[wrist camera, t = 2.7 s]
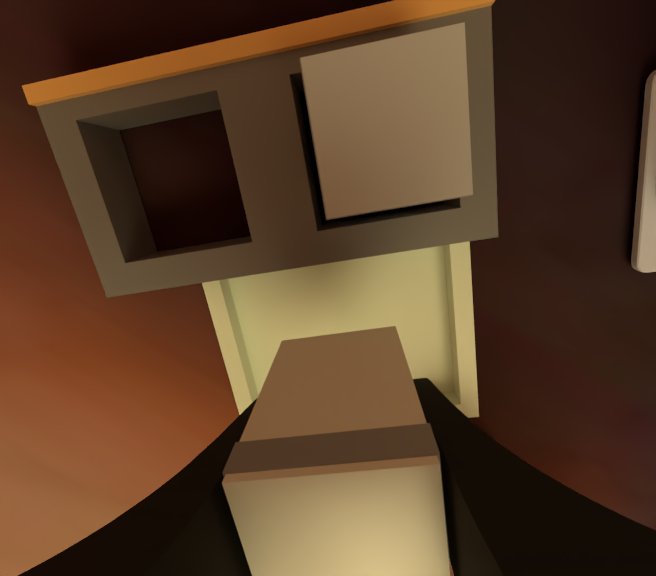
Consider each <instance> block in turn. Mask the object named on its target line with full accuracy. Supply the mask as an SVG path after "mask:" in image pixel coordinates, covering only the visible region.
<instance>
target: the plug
mask: <svg viewBox="0 0 656 576" xmlns="http://www.w3.org/2000/svg"><path fill="white" fill-rule="evenodd" d="M222 473H223V476H224V479H223V482H222V485H223V488H224V491H225V494H226V497H227V500H228V503H229V507H230V510H231V513H232V516H233V519H234V522H235V525H236V528H237V531H238V534H239V537H240V540H241V543H242V546H243V549H244V553H245V556H246V559H247V562H248V565H249V568H250V571H251V574H252V576H451V571H450V560H449V549H448V538H447V527H446V516H445V505H444V495H443V484H442V473H441V462H440V452H439V449H438V446H437V443H436V440H435V437H434V434H433V431H432V428H431V425H430V423H426V419H425V416H424V413H423V410H422V407H421V404H420V401H419V398H418V394H417V391H416V388H415V385H414V382H413V379H412V376H411V373H410V369H409V366H408V363H407V360H406V357H405V354H404V351H403V348H402V344H401V341H400V338H399V335H398V332H397V329H396V326H390V327H382V328H375V329H367V330H359V331H352V332H344V333H336V334H329V335H321V336H313V337H306V338H298V339H290V340H282V341H281V344H280V346H279V349H278V351H277V353H276V356H275V358H274V360H273V363H272V365H271V368H270V370H269V372H268V375H267V377H266V379H265V382H264V384H263V387H262V389H261V391H260V394H259V396H258V398H257V401H256V403H255V406H254V408H253V410H252V413H251V415H250V417H249V420H248V422H247V425H246V427H245V429H244V432H243V434H242V436H241V439H240V441H239V442H235V445H234V447H233V449H232V452H231V454H230V456H229V459H228V461H227V463H226V465H225V468H224V470H223V472H222Z"/></svg>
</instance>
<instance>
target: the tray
mask: <svg viewBox="0 0 656 576" xmlns="http://www.w3.org/2000/svg"><path fill="white" fill-rule="evenodd" d="M202 285H203V288H204V292H205V295H206V299H207V302H208V306H209V309H210V313H211V316H212V320H213V323H214V327H215V330H216V334H217V337H218V341H219V344H220V348H221V351H222V355H223V358H224V362H225V365H226V369H227V372H228V376H229V379H230V383H231V386H232V390H233V394H234V397H235V401H236V404H237V408H238V411H239V415H240V414H241V413H242V412H243V411H244V410H245V409H246V408H247V407H248V406H249V405H250V404H251V403H252V402H253V401H254V400H256V399H257V398H258V396H259V394H260V391H261V389H262V387H263V384H264V382H265V379H266V377H267V375H268V372H269V370H270V368H271V365H272V363H273V360H274V358H275V356H276V353H277V351H278V349H279V346H280V344H281V341H282V340H290V339H298V338H306V337H313V336H321V335H329V334H336V333H344V332H352V331H359V330H367V329H375V328H382V327H390V326H396V329H397V332H398V335H399V338H400V341H401V344H402V348H403V351H404V354H405V357H406V360H407V363H408V366H409V369H410V373H411V376H412V379H419V378H428V379H429V380H431V381H432V383H433V384H434V385H435V386H436V387H437V388H438V389H439V390H440V391H441V392H442V393H443V394H444V395H445V396H446V397H447V398H448V399H449V400H450V401H451V402H452V403H453V404H454V405H455V406H456V407H457V408H458V409H459V410H460V411H461V412H462V413H463V414H464V415H466V416H467V417H468V418H471V417H479V409H478V390H477V371H476V353H475V334H474V316H473V297H472V279H471V260H470V242H469V241H468V242H462V243H456V244H449V245H443V246H436V247H430V248H423V249H417V250H410V251H404V252H398V253H391V254H385V255H378V256H372V257H365V258H359V259H352V260H346V261H340V262H333V263H327V264H320V265H314V266H307V267H301V268H294V269H288V270H281V271H275V272H269V273H262V274H256V275H249V276H243V277H236V278H230V279H223V280H217V281H211V282H204V283H202Z"/></svg>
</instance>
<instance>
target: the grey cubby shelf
mask: <svg viewBox="0 0 656 576" xmlns="http://www.w3.org/2000/svg"><path fill="white" fill-rule="evenodd" d="M494 2H495V0H394V1H390V2H385V3H381V4H376V5H372V6H368V7H363V8H359V9H355V10H350V11H346V12H342V13H337V14H333V15H328V16H324V17H320V18H315V19H311V20H307V21H302V22H298V23H293V24H289V25H285V26H280V27H276V28H272V29H267V30H263V31H259V32H254V33H250V34H245V35H241V36H237V37H232V38H228V39H224V40H219V41H215V42H210V43H206V44H202V45H197V46H193V47H189V48H184V49H180V50H176V51H171V52H167V53H162V54H158V55H154V56H149V57H145V58H141V59H136V60H132V61H127V62H123V63H119V64H114V65H110V66H106V67H101V68H97V69H93V70H88V71H84V72H79V73H75V74H71V75H66V76H62V77H58V78H53V79H49V80H44V81H40V82H36V83H31V84H27V85H23V86H22V88H23V90H24V93H25V96H26V98H27V101H28V104H29V105H33V106H36V107H37V110H38V113H39V115H40V118H41V121H42V124H43V126H44V129H45V132H46V134H47V137H48V140H49V142H50V145H51V148H52V151H53V153H54V156H55V159H56V161H57V164H58V167H59V169H60V172H61V175H62V177H63V180H64V183H65V186H66V188H67V191H68V194H69V196H70V199H71V202H72V204H73V207H74V210H75V213H76V215H77V218H78V221H79V223H80V226H81V229H82V231H83V234H84V237H85V239H86V242H87V245H88V248H89V250H90V253H91V256H92V258H93V261H94V264H95V266H96V269H97V272H98V275H99V277H100V280H101V283H102V285H103V288H104V291H105V293H106V296H107V297H114V296H120V295H127V294H133V293H140V292H146V291H153V290H159V289H165V288H172V287H178V286H185V285H191V284H198V283H204V282H211V281H217V280H223V279H230V278H236V277H243V276H249V275H256V274H262V273H269V272H275V271H281V270H288V269H294V268H301V267H307V266H314V265H320V264H327V263H333V262H340V261H346V260H352V259H359V258H365V257H372V256H378V255H385V254H391V253H398V252H404V251H410V250H417V249H423V248H430V247H436V246H443V245H449V244H456V243H462V242H468V241H475V240H481V239H488V238H494V237H498V215H497V182H496V149H495V115H494V82H493V49H492V16H491V5H492V4H493V3H494ZM464 22H465V38H466V59H467V80H468V100H469V121H470V142H471V162H472V183H473V195H472V196H468V197H462V198H456V199H450V200H444V201H443V204H439V205H433V206H427V207H421V208H415V209H410V210H404V211H398V212H392V213H386V214H380V215H374V216H368V217H362V218H356V219H350V220H344V221H338V222H332V223H326V224H322V222H321V216H320V210H319V204H318V199H317V193H316V187H315V181H314V176H313V170H312V164H311V158H310V153H309V147H308V141H307V135H306V130H305V124H304V118H303V112H302V106H301V101H300V95H299V93H302V92H304V86H303V80H302V74H301V68H300V62H299V59H300V58H302V57H306V56H311V55H316V54H320V53H325V52H329V51H334V50H339V49H343V48H348V47H353V46H357V45H362V44H366V43H371V42H376V41H380V40H385V39H390V38H394V37H399V36H403V35H408V34H413V33H417V32H422V31H427V30H431V29H436V28H440V27H445V26H450V25H454V24H459V23H464ZM220 109H221V110H222V114H223V119H224V123H225V127H226V132H227V136H228V140H229V144H230V149H231V153H232V157H233V162H234V166H235V170H236V174H237V179H238V183H239V187H240V192H241V196H242V200H243V204H244V209H245V213H246V217H247V221H248V226H249V230H250V234H251V236H248V237H242V238H236V239H230V240H224V241H218V242H212V243H206V244H200V245H194V246H188V247H182V248H176V249H170V250H164V251H157V248H156V245H155V242H154V239H153V235H152V232H151V229H150V226H149V223H148V219H147V216H146V213H145V210H144V207H143V204H142V200H141V197H140V194H139V191H138V188H137V184H136V181H135V178H134V175H133V172H132V169H131V165H130V162H129V159H128V156H127V153H126V149H125V146H124V143H123V140H122V137H121V134H120V130H124V129H129V128H133V127H138V126H143V125H148V124H153V123H157V122H162V121H167V120H172V119H177V118H181V117H186V116H191V115H196V114H201V113H206V112H210V111H215V110H220Z"/></svg>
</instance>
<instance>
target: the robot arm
mask: <svg viewBox="0 0 656 576" xmlns="http://www.w3.org/2000/svg"><path fill="white" fill-rule="evenodd" d="M631 264H632V267H633V268H634V269H635V270H637V271H641V272H647V273H648V272H656V70H654V71H653V72H652V73H651V74H650V75H649V77H648V78H647V81H646V85H645V97H644V109H643V121H642V134H641V146H640V159H639V171H638V183H637V196H636V208H635V220H634V233H633V245H632V257H631ZM413 382H414V385H415V388H416V391H417V394H418V398H419V401H420V404H421V407H422V410H423V413H424V416H425V419H426V423H430V425H431V428H432V431H433V434H434V437H435V440H436V443H437V446H438V449H439V452H440V462H441V473H442V484H443V495H444V505H445V516H446V527H447V538H448V549H449V558H450V562H451V565H452V569H453V573H454V576H656V530H653V529H651V528H649V527H646V526H644V525H642V524H640V523H637V522H635V521H633V520H631V519H629V518H627V517H624V516H622V515H620V514H618V513H616V512H614V511H612V510H610V509H608V508H606V507H604V506H602V505H600V504H598V503H596V502H594V501H592V500H590V499H589V498H587V497H585V496H583V495H581V494H579V493H577V492H575V491H574V490H572V489H570V488H568V487H566V486H565V485H563V484H561V483H560V482H558V481H556V480H554V479H553V478H551V477H549V476H548V475H546V474H544V473H542V472H541V471H539V470H538V469H536V468H534V467H533V466H531V465H530V464H528V463H526V462H525V461H523V460H522V459H521V458H519V457H518V456H516V455H515V454H513V453H512V452H510V451H509V450H507V449H506V448H505V447H503V446H502V445H501V444H499V443H498V442H497V441H495V440H494V439H493V438H492V437H490V436H489V435H488V434H487V433H485V432H484V431H483V430H482V429H480V428H479V427H478V426H477V425H476V424H475V423H473V422H472V421H471V420H470V419H469V418H468V417H467V416H466V415H464V414H463V413H462V412H461V411H460V410H459V409H458V408H457V407H456V406H455V405H454V404H453V403H452V402H451V401H450V400H449V399H448V398H447V397H446V396H445V395H444V394H443V393H442V392H441V391H440V390H439V389H438V388H437V387H436V386H435V385H434V384H433V383H432V381H431V380H429V379H428V378H419V379H413ZM256 401H257V399H256V400H254V401H253V402H252V403H251V404H250V405H249V406H248V407H247V408H246V409H245V410H244V411H243V412H242V413H241V414H240V415H239V417H238V418H237V419H236V420H235V421H234V422H233V423H232V424H231V425H230V426H229V427H228V428H227V429H226V430H225V431H224V432H223V433H222V434H221V435H220V436H219V437H218V438H217V439H215V440H214V441H213V442H212V443H211V444H210V445H209V446H208V447H207V448H206V449H205V450H204V451H202V452H201V453H200V454H199V455H198V456H197V457H196V458H195V459H194V460H193V461H192V462H190V463H189V464H188V465H187V466H186V467H185V468H183V469H182V470H181V471H180V472H179V473H177V474H176V475H175V476H174V477H173V478H171V479H170V480H169V481H167V482H166V483H165V484H164V485H162V486H161V487H160V488H158V489H157V490H156V491H155V492H153V493H152V494H150V495H149V496H148V497H146V498H145V499H143V500H142V501H141V502H139V503H138V504H136V505H135V506H133V507H132V508H130V509H129V510H128V511H126V512H125V513H123V514H122V515H120V516H119V517H117V518H116V519H115V520H113V521H112V522H110V523H108V524H107V525H105V526H104V527H102V528H101V529H99V530H97V531H96V532H94V533H93V534H91V535H89V536H88V537H86V538H84V539H83V540H81V541H79V542H78V543H76V544H74V545H73V546H71V547H69V548H68V549H66V550H64V551H62V552H61V553H59V554H57V555H55V556H54V557H52V558H50V559H48V560H46V561H45V562H43V563H41V564H39V565H37V566H35V567H33V568H31V569H30V570H28V571H26V572H24V573H22V574H20V575H18V576H252V574H251V571H250V568H249V565H248V562H247V559H246V556H245V553H244V549H243V546H242V543H241V540H240V537H239V534H238V531H237V528H236V525H235V522H234V519H233V516H232V513H231V510H230V507H229V503H228V500H227V497H226V494H225V491H224V488H223V485H222V482H223V479H224V476H223V473H222V472H223V470H224V468H225V465H226V463H227V461H228V459H229V456H230V454H231V452H232V449H233V447H234V445H235V442H239V441H240V439H241V436H242V434H243V432H244V429H245V427H246V425H247V422H248V420H249V417H250V415H251V413H252V410H253V408H254V406H255V403H256Z"/></svg>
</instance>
